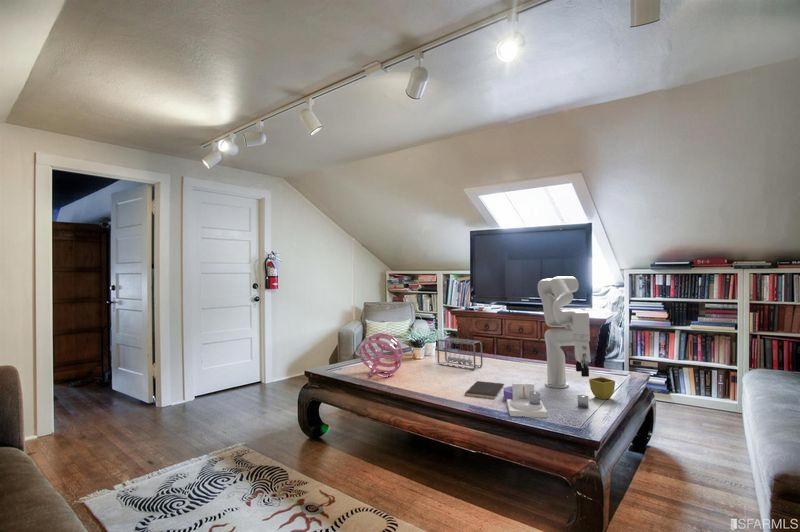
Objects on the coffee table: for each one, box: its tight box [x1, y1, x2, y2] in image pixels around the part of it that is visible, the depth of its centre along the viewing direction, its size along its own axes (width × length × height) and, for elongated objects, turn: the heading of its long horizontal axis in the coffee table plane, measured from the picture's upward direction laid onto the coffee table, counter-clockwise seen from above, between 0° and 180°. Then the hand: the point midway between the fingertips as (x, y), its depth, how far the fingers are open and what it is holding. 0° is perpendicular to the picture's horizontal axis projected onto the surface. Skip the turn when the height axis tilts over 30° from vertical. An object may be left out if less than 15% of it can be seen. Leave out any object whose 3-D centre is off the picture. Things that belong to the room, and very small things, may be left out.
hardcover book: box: [464, 380, 505, 400], centre depth 220 cm, size 16×23×2 cm
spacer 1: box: [530, 390, 541, 405], centre depth 188 cm, size 5×5×5 cm
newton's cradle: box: [436, 337, 483, 370], centre depth 278 cm, size 30×10×18 cm, turn 49°
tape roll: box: [502, 385, 513, 401], centre depth 206 cm, size 12×12×5 cm
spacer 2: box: [577, 394, 590, 409], centre depth 192 cm, size 5×5×5 cm
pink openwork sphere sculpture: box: [358, 332, 404, 378], centre depth 258 cm, size 28×28×27 cm
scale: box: [506, 382, 548, 418], centre depth 190 cm, size 18×16×10 cm
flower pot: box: [588, 376, 616, 400], centre depth 204 cm, size 9×9×9 cm
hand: (582, 373), depth 191 cm, fingers open, 9 cm apart
